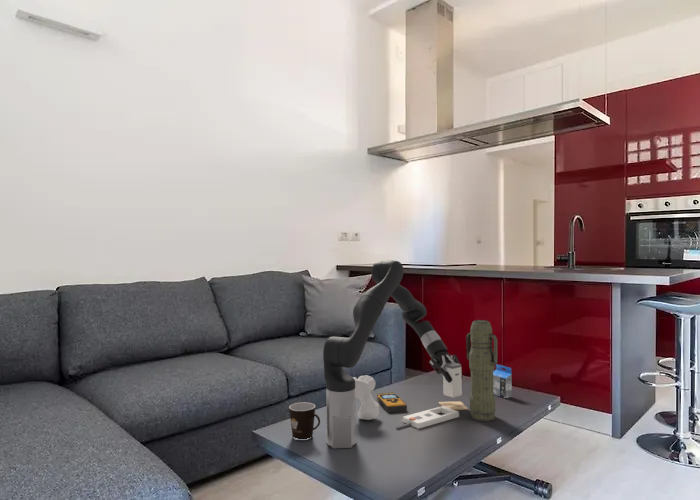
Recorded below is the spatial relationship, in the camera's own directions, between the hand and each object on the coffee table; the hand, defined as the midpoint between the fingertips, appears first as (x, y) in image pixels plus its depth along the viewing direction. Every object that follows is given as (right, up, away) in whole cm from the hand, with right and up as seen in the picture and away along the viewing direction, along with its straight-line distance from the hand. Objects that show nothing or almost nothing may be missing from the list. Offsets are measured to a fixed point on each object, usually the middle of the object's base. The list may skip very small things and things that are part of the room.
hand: (455, 380), depth 173 cm
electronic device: (-25, -12, +3) cm, 27 cm away
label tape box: (+22, -11, +14) cm, 29 cm away
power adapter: (-1, -6, +1) cm, 6 cm away
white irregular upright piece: (-36, -11, -12) cm, 40 cm away
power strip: (-14, -10, -14) cm, 23 cm away
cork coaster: (-1, -11, +1) cm, 11 cm away
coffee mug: (-56, -11, -29) cm, 64 cm away
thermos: (+7, -10, -11) cm, 17 cm away
